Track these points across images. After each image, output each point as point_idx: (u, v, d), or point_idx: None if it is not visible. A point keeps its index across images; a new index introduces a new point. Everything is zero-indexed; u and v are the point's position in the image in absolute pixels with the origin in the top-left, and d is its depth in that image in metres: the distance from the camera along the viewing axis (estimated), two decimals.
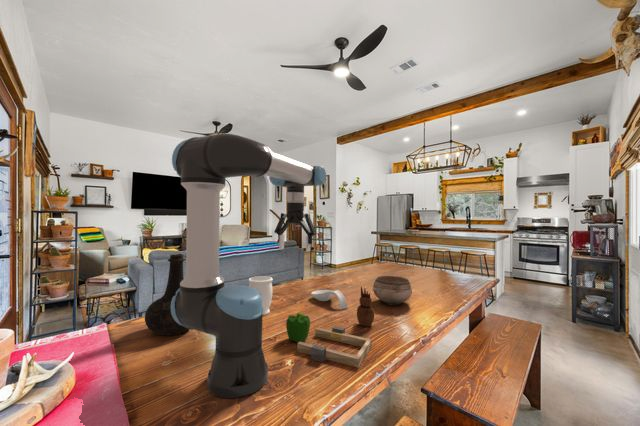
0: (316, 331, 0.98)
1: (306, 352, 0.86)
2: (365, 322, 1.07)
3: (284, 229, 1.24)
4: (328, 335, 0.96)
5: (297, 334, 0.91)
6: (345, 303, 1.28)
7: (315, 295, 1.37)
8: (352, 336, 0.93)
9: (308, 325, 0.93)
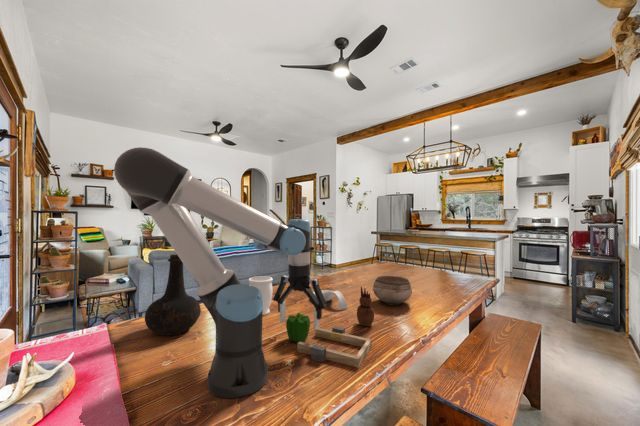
0: (316, 331, 0.98)
1: (306, 352, 0.86)
2: (365, 322, 1.07)
3: (285, 296, 0.98)
4: (328, 335, 0.96)
5: (297, 334, 0.91)
6: (345, 304, 1.27)
7: (315, 295, 1.37)
8: (352, 336, 0.93)
9: (308, 325, 0.93)
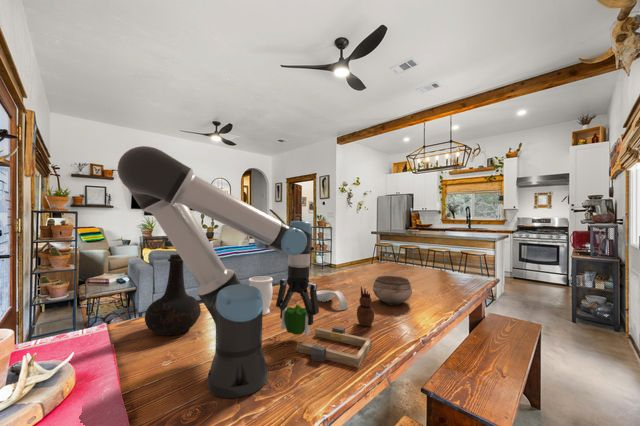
0: (316, 331, 0.98)
1: (306, 352, 0.86)
2: (365, 322, 1.07)
3: (287, 301, 0.96)
4: (328, 335, 0.96)
5: (295, 326, 0.91)
6: (345, 304, 1.27)
7: None
8: (352, 336, 0.93)
9: None
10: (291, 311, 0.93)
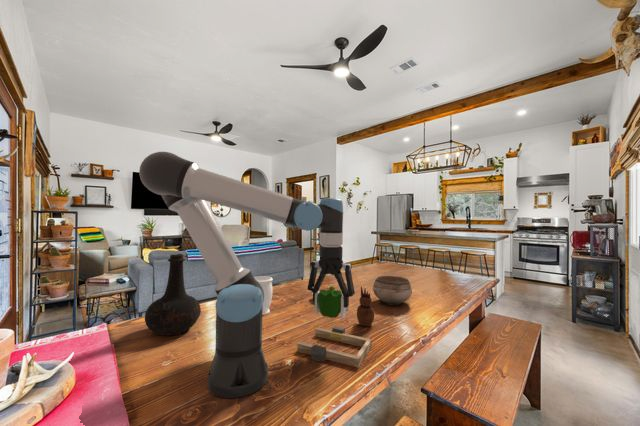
0: (316, 331, 0.98)
1: (306, 352, 0.86)
2: (365, 322, 1.07)
3: (320, 284, 0.92)
4: (328, 335, 0.96)
5: (331, 308, 0.86)
6: None
7: None
8: (352, 336, 0.93)
9: None
10: (325, 293, 0.88)
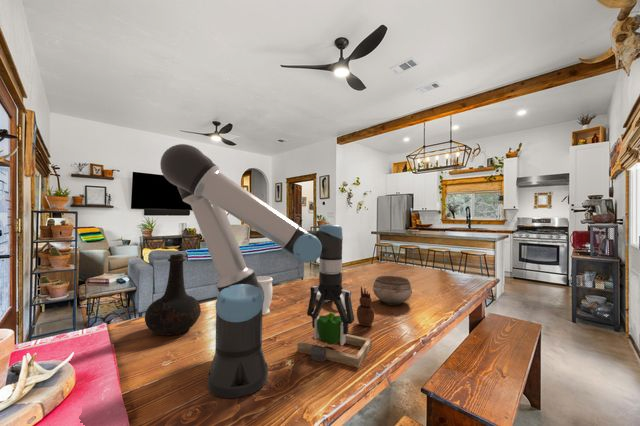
0: None
1: (306, 352, 0.86)
2: (365, 322, 1.07)
3: (319, 309, 0.91)
4: None
5: (331, 335, 0.86)
6: None
7: None
8: (352, 336, 0.93)
9: None
10: (325, 320, 0.88)
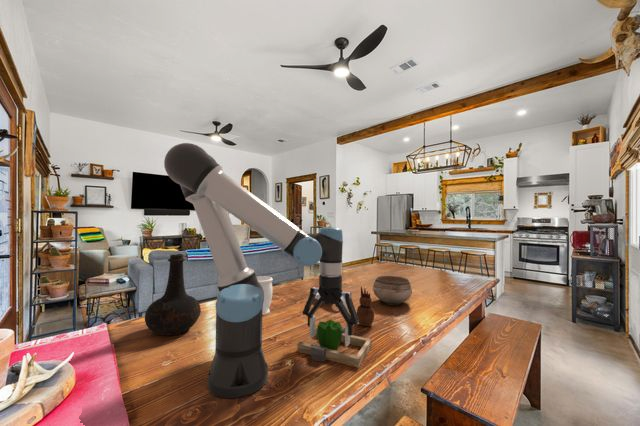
0: (316, 331, 0.98)
1: (306, 352, 0.86)
2: (365, 322, 1.07)
3: (316, 310, 0.92)
4: None
5: (330, 342, 0.86)
6: (345, 304, 1.25)
7: (316, 296, 1.36)
8: (352, 336, 0.93)
9: (341, 332, 0.88)
10: (324, 326, 0.88)
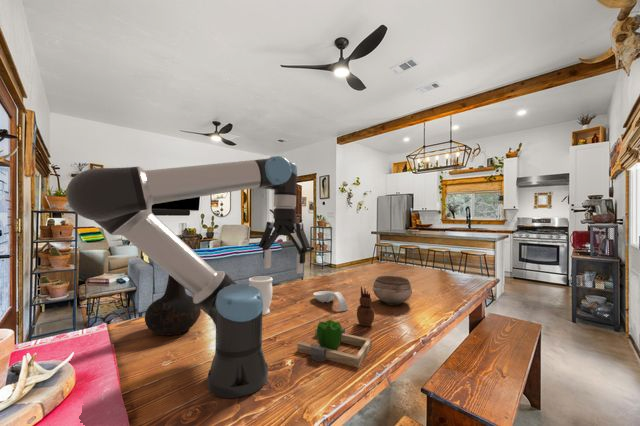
0: (316, 331, 0.98)
1: (306, 352, 0.86)
2: (365, 322, 1.07)
3: (271, 242, 0.96)
4: None
5: (330, 342, 0.86)
6: (345, 305, 1.25)
7: (316, 296, 1.36)
8: (352, 336, 0.93)
9: (341, 332, 0.88)
10: (324, 326, 0.88)
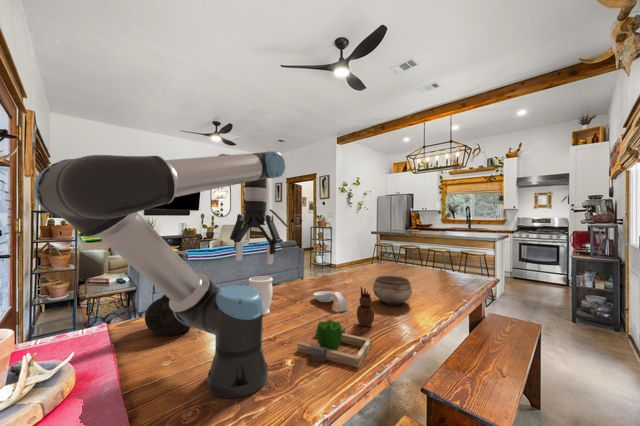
0: (316, 331, 0.98)
1: (306, 352, 0.86)
2: (365, 322, 1.07)
3: (242, 235, 0.97)
4: None
5: (330, 342, 0.86)
6: (345, 305, 1.24)
7: (316, 296, 1.35)
8: (352, 336, 0.93)
9: (341, 332, 0.88)
10: (324, 326, 0.88)
